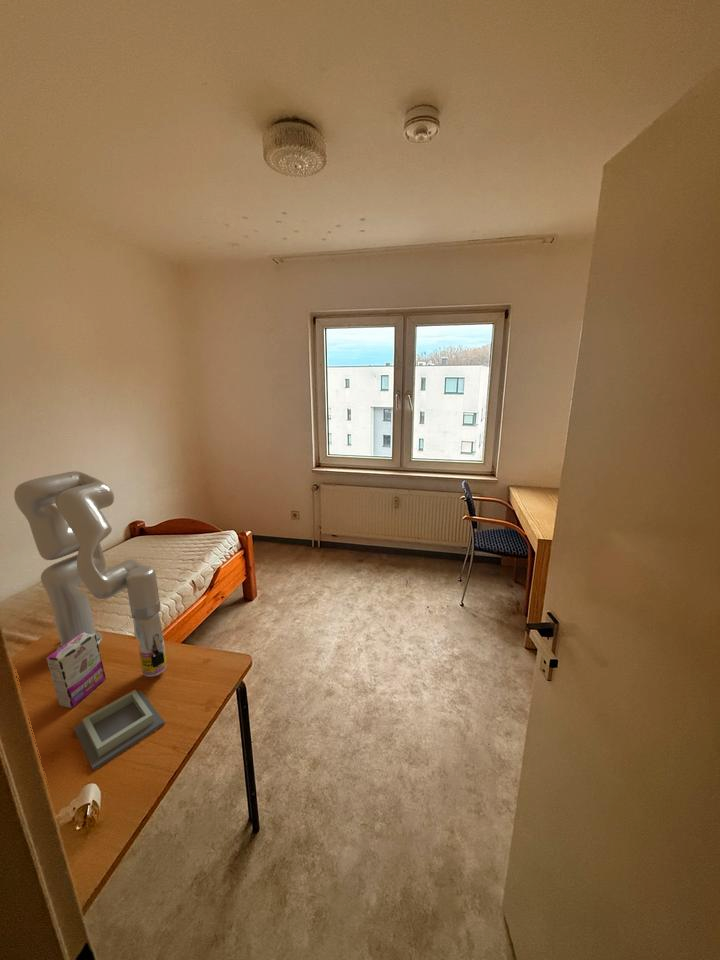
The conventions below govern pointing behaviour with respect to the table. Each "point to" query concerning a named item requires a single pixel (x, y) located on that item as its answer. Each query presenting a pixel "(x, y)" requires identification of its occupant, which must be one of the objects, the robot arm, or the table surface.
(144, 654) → the supplement bottle
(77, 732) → the tray
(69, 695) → the candy bar box
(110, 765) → the table surface
